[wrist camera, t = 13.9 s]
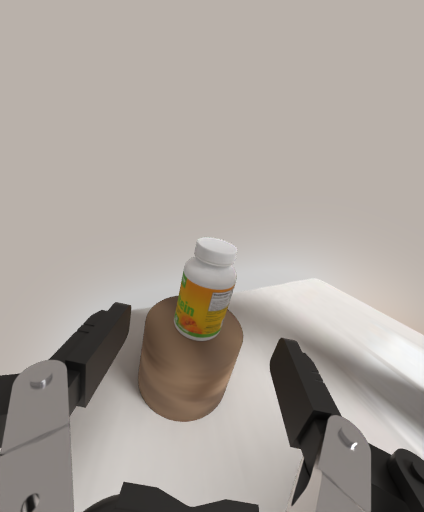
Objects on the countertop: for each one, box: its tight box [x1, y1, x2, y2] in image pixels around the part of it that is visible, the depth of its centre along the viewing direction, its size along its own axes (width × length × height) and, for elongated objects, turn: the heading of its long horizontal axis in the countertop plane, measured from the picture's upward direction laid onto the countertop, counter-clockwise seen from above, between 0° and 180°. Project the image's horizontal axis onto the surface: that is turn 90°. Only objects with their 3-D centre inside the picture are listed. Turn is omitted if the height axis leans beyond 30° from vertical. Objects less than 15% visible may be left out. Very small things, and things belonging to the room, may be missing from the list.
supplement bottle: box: [174, 237, 237, 341], centre depth 21 cm, size 5×5×10 cm
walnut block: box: [138, 296, 243, 422], centre depth 24 cm, size 11×11×8 cm
